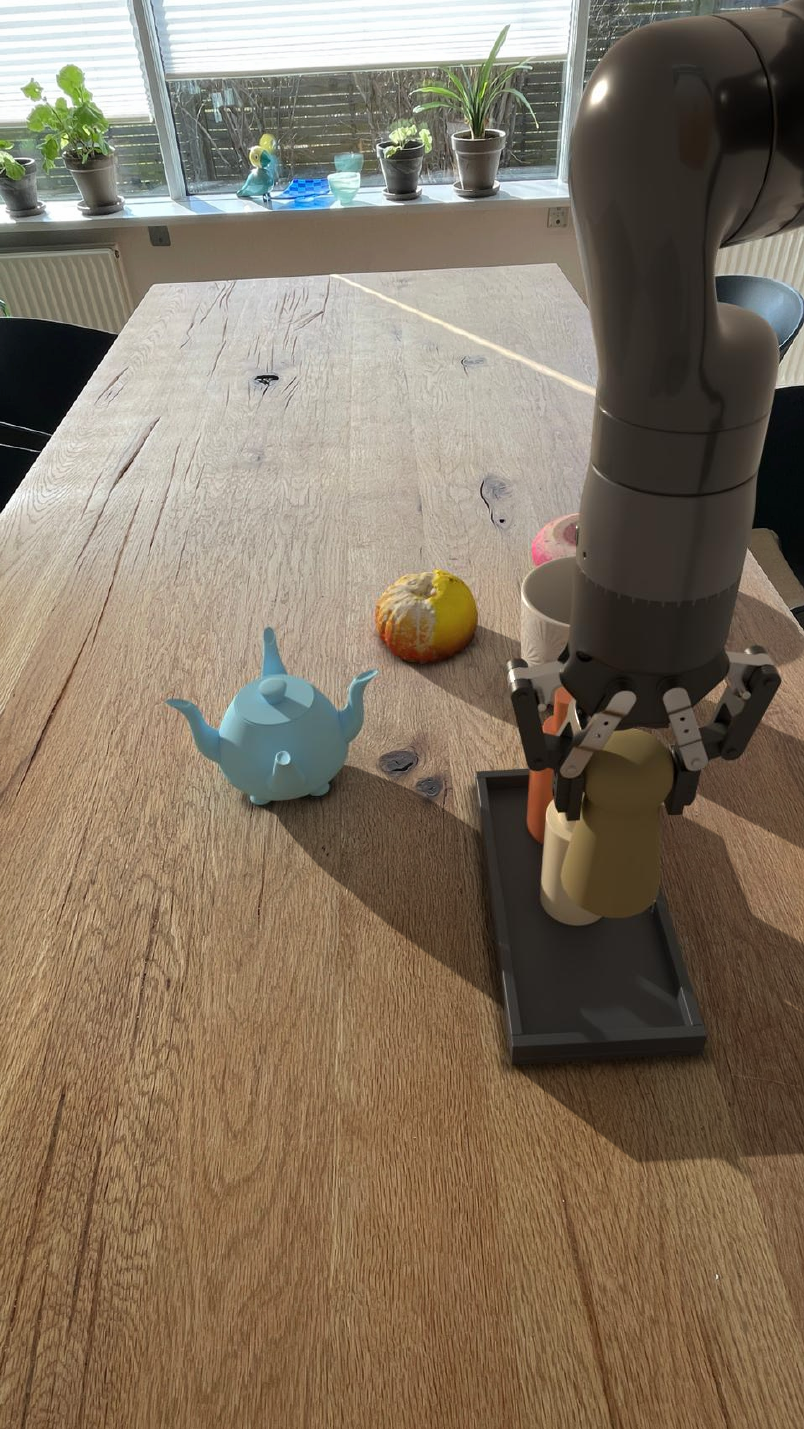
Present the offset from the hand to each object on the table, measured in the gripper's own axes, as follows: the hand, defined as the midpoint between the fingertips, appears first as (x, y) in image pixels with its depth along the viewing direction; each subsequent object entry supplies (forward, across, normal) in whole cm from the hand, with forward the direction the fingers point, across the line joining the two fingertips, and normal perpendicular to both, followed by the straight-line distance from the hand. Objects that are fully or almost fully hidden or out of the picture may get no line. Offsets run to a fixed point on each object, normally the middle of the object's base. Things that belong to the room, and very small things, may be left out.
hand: (620, 806), depth 54 cm
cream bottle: (+18, 0, +8) cm, 19 cm away
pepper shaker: (+7, 0, 0) cm, 7 cm away
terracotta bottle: (+18, 0, +15) cm, 23 cm away
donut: (+19, +10, +54) cm, 58 cm away
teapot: (+19, -23, +24) cm, 38 cm away
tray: (+19, 0, +8) cm, 20 cm away
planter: (+19, +5, +34) cm, 39 cm away
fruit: (+19, -10, +43) cm, 48 cm away
